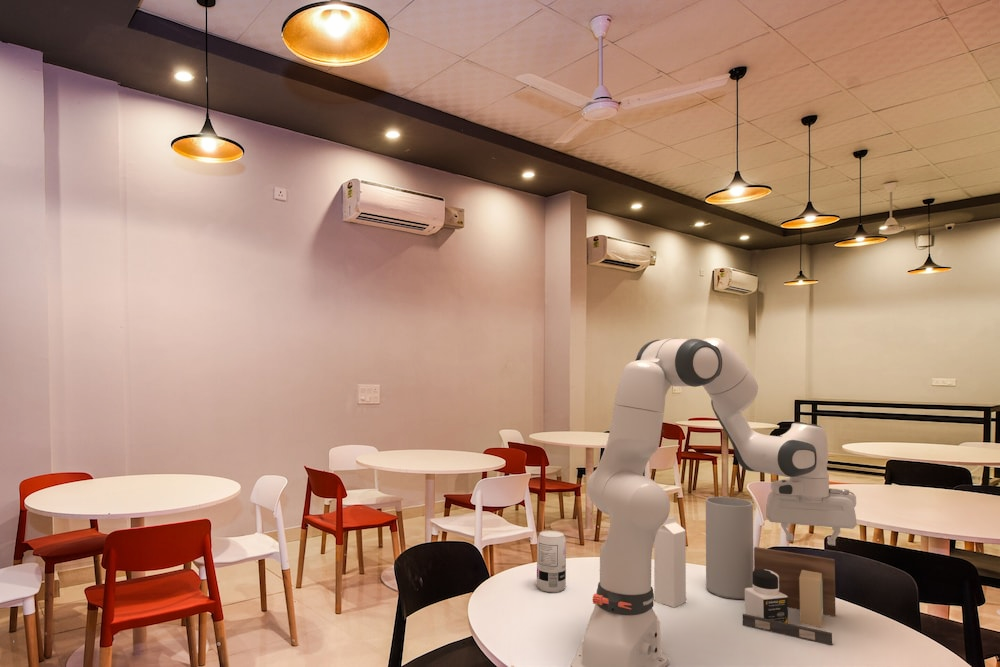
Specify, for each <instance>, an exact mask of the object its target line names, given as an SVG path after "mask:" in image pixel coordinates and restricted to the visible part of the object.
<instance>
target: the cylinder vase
mask: <svg viewBox="0 0 1000 667" xmlns="http://www.w3.org/2000/svg"><path fill="white" fill-rule="evenodd" d="M753 571H754V502H752V501H750V500H747V499H744V498H743V499H742V498H738V497H731V496H711V497H707V498H705V577H706V578H705V587H706V589H707V590H708V591H709V592H710V593H711V594H713V595H715V596H718V597H721V598H725V599H732V600H745V588H752V587H753V579H752V573H753Z"/></svg>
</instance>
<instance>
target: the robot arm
mask: <svg viewBox="0 0 1000 667" xmlns="http://www.w3.org/2000/svg"><path fill="white" fill-rule="evenodd" d="M671 386H672V387H679V388H680V387H693V388H694V387H695V388H696V387H701V386H702V387H703V388H704V390H705V391H706V392H707V394H708V396H709V397H710V400H711V402H710V403H711V408H712V410H713V413H714V415H715V417H716V419H717V420H718V422H719V425H720V426H721V428H722V429H723V430H724V433H725V435H726V436H727V438H728V440H729V441H730V443H731V445H732V448H733V452H734V454H735V457H736V461H737V462H738V464H739V466H740V467H742V468H743V469H744V470H746V471H748V472H754V473H765V474H769V475H774V476H780V477H784V478H783V479H779V480H774V481H771V483H770V489H771V491H770V492H769V493H768V496H767V497H766V498H767V500H766V503H765V504H766V506H765V517H766V519H767V520H768V521H769V522H770V523H775V524H776V523H779V524H780V525H781V528H782V529H783V531H784V532H785V539H786V542H792V543H793V542H794V534H793V532H792V533H791V532H789V531H788V529H789V525H790V524H791V525H802V526H815V527H825V528H826V527H827V528H831V530H833V532H832V534H831V535H830V536H827V538H826V539H827V545H828V546H836V539H837V538H838V537H839V535H840V534H841V529H851V530H854V529H855V527H857V516H856V510H855V507H856V505H857V496H856V495H855V494H854V493H853V492H852V491H850V490H849V489H838V488H830V477H829V472H828V468H827V467H828V461H829V448H828V440H827V439H828V438H827V434H826V431H825V429H824V428H823V427H822V426H820V425H817V424H813V423H807V422H800V421H799V422H793V423H791V426H790V428H789V429H788V430H787V431H786V432H785V433H783V434H780V435H777V436H776V435H770V434H769V435H768V434H763V433H760V432H757V431H755V430H754V429H752V428H751V426H750V424H749V422H748V420H747V419H746V417H745V415H744V414H743V412H744V411H746V409H748V408H749V407H750V406H751V405H752V404H753V403H754V401H755V400H756V398H757V396H758V392H759V391H758V390H759V386H758V382H757V380H756V378H755V376H754V374H753V373H752V371H751V370H750V369H749V367H748V366H747V365H746V362H744V361H743V359H742V358H741V357H740V355H739V354H738V353H737V352H736V351H735V350H734V349H733V348H732V347H731V346H730V345H729V344H728V343H727V342H725V341H724V340H723V339H722V338H718V337H715V336H714V337H712V336H711V337H706V338H703V339H699V338H690V339H689V338H679V337H671V338H665V339H654V340H651V341H649V342H647V343H645V344H644V345H643V346H642V347H641V348H640V349H639V351H638V353H637V355H636V358H635V360H634V361H631V362H629V363H628V364H626V365H625V366H624V368H623V370H622V372H621V375H620V378H619V381H618V384H617V388H616V393H615V397H614V402H613V408H612V414H611V419H610V420H611V421H610V427H609V432H608V433H609V434H608V438H607V442H606V445H605V448H604V450H603V453H602V455H601V458H600V460H599V463H598V464H597V467H596V469H594V471H592V473H591V474H590V475H589V478H588V480H587V483H586V491H587V495H588V498H589V499H590V501H591V502H592V503H593V505H594V506H595V507H596V508H597V509H598V511H600V512H602V513H604V514H605V515H607V516H609V517H608V518H609V528H608V532H607V535H606V539H605V541H604V542H603V543H602V544H601V546H600V548H599V582H598V584H597V588H596V593H594V594H593V595H592V604H594V608H593V610H592V613H591V615H590V618H589V620H588V624H587V626H586V629H585V632H584V635H583V637H582V638H583V639H582V642H581V645H580V646H579V648H578V649H577V652H576V654H575V656H574V658H573V660H572V661H571V664H570V667H667V666H668V665H669V664H670V661H669V657H668V656H667V655H665V654H664V653H663V651H662V649H663V648H662V632H661V630H662V629H661V621H660V619H659V618H658V616H657V615H656V613H655V611H654V608H653V607H654V588H653V586H652V559H653V557H652V556H653V548H654V540H655V537H656V534H657V531H658V528H659V527H661V526H663V525H664V522H665V521H666V520H667V519H668V518H669V515H670V510H671V502H670V497H669V495H668V494H667V492H666V490H665V489H664V488H662V487H661V486H660V485H659V484H658V483H657V482H655V481H654V479H653V478H650V477H648V476H644V472H645V470H646V467H647V465H648V463H649V460H650V459H651V457H652V456H653V455H654V454H655V453H657V451H658V450H659V446H660V441H661V436H662V428H663V421H664V416H665V415H664V414H665V406H666V395H667V393H668V391H669V389H670V388H671ZM785 477H786V478H785ZM787 528H788V529H787Z"/></svg>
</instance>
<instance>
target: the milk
mask: <svg viewBox="0 0 1000 667" xmlns="http://www.w3.org/2000/svg"><path fill="white" fill-rule="evenodd" d="M686 533H687V532H686V529H684V527H682V526H681V525H680V524H679V523H678V522H677V517H676V516H672V517H668V518H667V520H666V521H665V522H664V524H663V525H662V526H660V527H659V528H658V531H657V534H656V537H655V540H654V544H653V548H654V552H653V553H654V563H653V564H654V567H653V568H654V569H653V570H654V572H653V573H654V585H653V586H654V588H653V594H654V600H653V602H656V603H659V604H662V605H665V606H668V607H671V608H676V607H678V606H681V605H682V604H685V603H686V600H687V595H686V594H687V592H686V590H687V589H686V588H687V587H686V586H687V585H686V584H687V582H686V579H687V577H686V576H687V575H686V573H687V572H686V571H687V570H686V569H687V568H686V567H687V564H686V563H687V562H686V560H687V559H686V558H687V557H686V556H687V554H686V550H687V548H686V546H687V545H686V537H687V536H686Z"/></svg>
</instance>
